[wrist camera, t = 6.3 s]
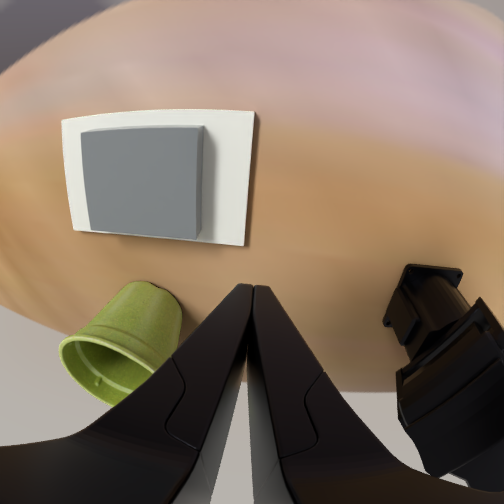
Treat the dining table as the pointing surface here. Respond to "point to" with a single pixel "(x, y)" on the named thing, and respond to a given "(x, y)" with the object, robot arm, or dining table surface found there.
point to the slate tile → (144, 179)
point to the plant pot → (123, 342)
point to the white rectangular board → (213, 173)
